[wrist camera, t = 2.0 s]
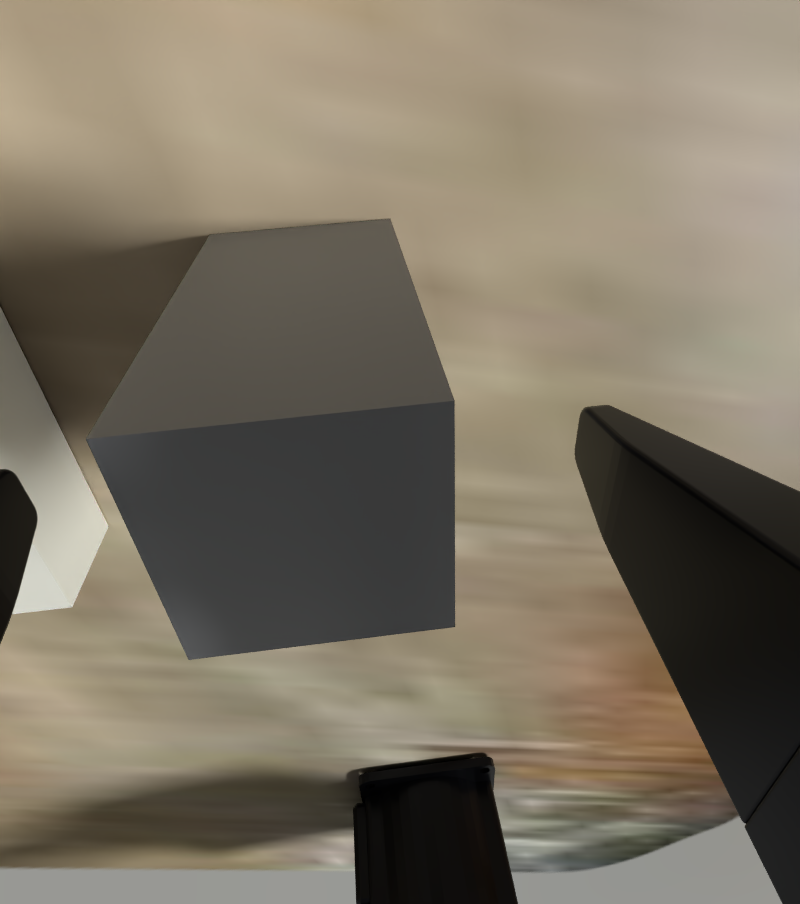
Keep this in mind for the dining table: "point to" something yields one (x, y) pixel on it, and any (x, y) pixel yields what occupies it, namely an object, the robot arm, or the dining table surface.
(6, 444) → the socket plate
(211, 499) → the plug
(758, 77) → the dining table surface
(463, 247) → the dining table surface
